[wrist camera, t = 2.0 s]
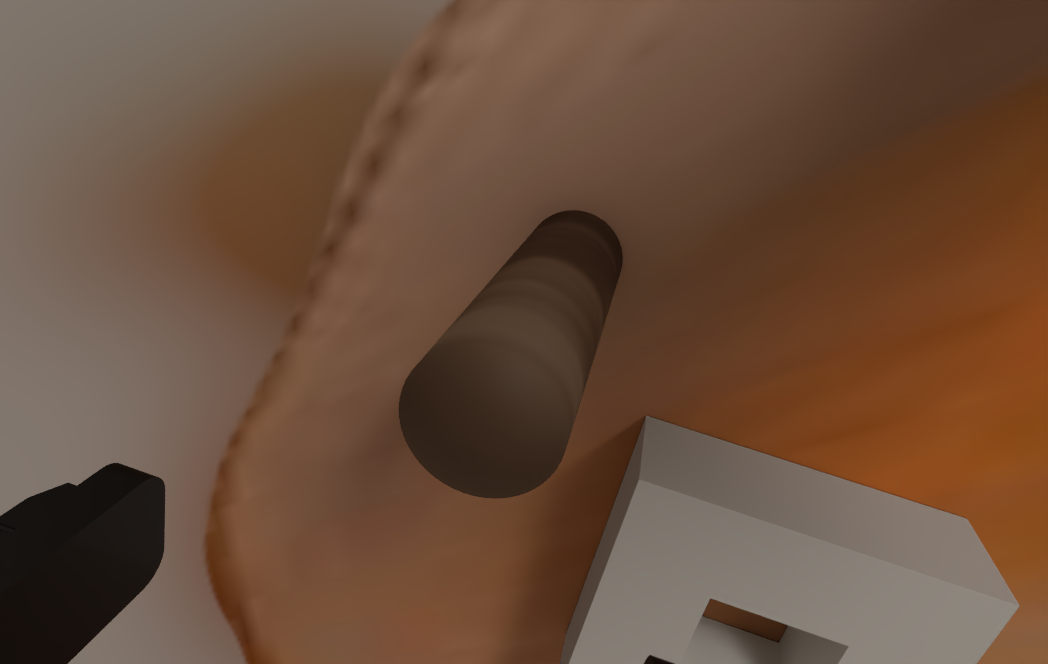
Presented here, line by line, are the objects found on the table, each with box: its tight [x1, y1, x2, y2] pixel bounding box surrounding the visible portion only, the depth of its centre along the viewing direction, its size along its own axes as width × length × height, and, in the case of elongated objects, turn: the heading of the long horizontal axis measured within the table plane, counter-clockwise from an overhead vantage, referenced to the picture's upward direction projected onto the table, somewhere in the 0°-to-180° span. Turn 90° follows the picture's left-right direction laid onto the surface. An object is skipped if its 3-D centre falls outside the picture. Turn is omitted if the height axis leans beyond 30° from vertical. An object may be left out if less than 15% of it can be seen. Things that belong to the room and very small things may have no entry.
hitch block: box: [560, 416, 1019, 664], centre depth 30 cm, size 14×14×5 cm
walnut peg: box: [399, 210, 622, 498], centre depth 22 cm, size 4×4×14 cm
